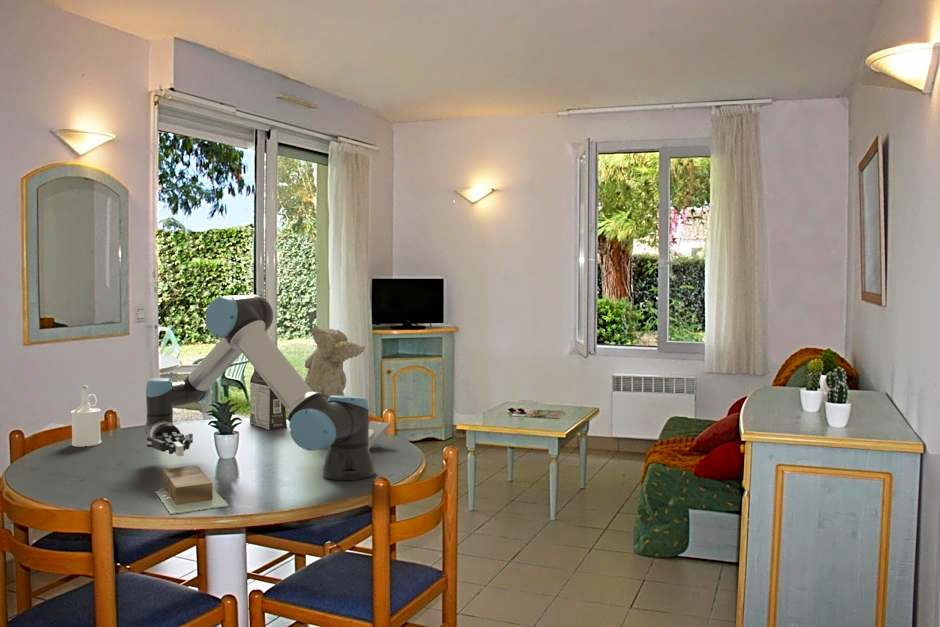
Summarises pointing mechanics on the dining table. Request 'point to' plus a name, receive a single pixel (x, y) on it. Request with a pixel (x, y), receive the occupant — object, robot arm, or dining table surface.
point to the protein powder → (265, 405)
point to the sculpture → (329, 361)
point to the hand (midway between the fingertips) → (180, 451)
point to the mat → (191, 507)
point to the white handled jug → (86, 422)
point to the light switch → (376, 431)
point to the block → (187, 485)
